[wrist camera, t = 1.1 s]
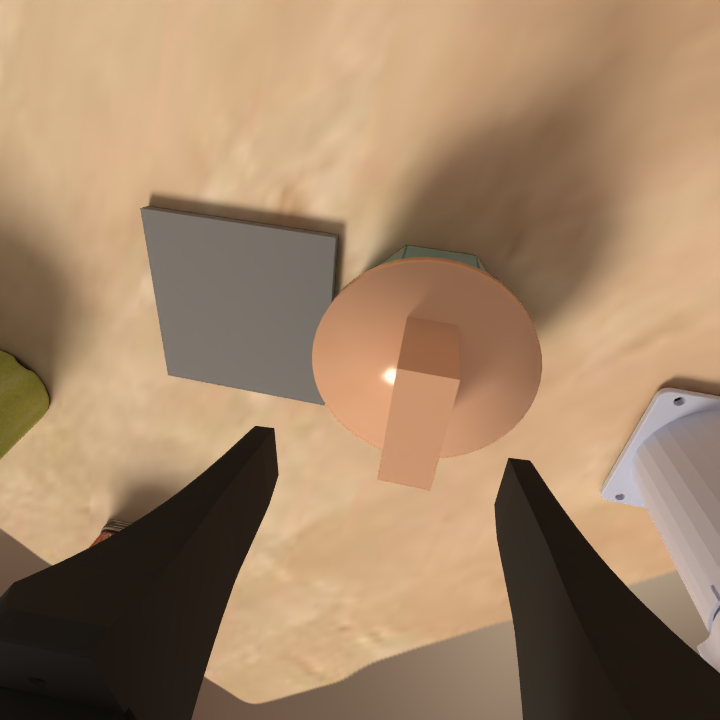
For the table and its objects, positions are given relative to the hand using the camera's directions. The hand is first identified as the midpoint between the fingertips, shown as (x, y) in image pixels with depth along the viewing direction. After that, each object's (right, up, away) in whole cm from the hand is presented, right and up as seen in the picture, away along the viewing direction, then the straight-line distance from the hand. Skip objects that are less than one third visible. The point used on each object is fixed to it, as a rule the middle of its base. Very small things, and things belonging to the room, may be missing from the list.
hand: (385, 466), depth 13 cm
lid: (+2, +3, +5) cm, 7 cm away
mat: (-7, +6, +10) cm, 14 cm away
